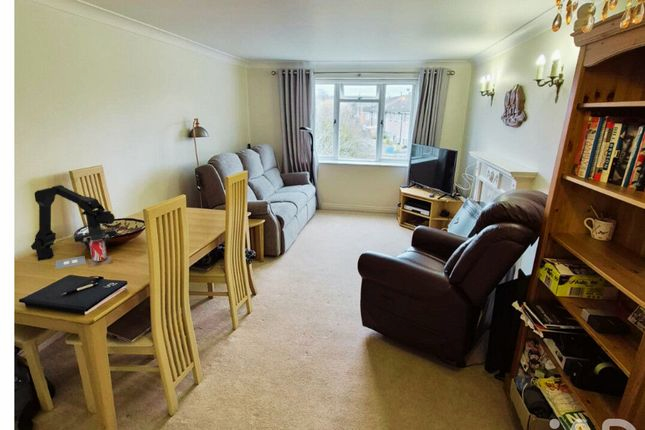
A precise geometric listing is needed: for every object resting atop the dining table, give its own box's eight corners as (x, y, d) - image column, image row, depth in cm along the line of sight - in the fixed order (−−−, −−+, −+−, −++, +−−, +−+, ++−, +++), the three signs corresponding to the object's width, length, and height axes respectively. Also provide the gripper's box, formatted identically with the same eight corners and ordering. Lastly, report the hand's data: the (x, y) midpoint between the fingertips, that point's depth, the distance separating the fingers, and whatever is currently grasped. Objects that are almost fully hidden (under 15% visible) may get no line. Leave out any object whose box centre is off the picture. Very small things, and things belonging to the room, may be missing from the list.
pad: (88, 267, 180) (88, 266, 180) (87, 260, 189) (87, 259, 189) (113, 262, 187) (113, 262, 186) (110, 255, 195) (110, 255, 195)
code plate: (55, 269, 177) (55, 268, 177) (55, 261, 186) (55, 260, 186) (85, 263, 185) (85, 263, 185) (84, 256, 194) (84, 255, 194)
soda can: (100, 262, 183) (96, 241, 180) (88, 261, 185) (85, 240, 181) (110, 257, 190) (107, 237, 187) (99, 256, 191) (96, 236, 188)
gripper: (72, 229, 170) (77, 259, 174) (116, 223, 181) (120, 251, 185) (71, 223, 178) (76, 251, 183) (113, 218, 189) (117, 245, 193)
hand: (98, 250), depth 186 cm, fingers closed on soda can, 7 cm apart
